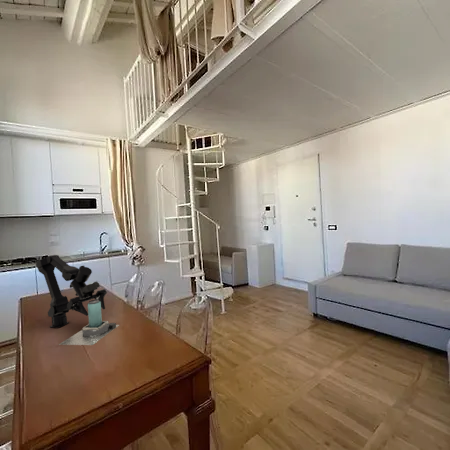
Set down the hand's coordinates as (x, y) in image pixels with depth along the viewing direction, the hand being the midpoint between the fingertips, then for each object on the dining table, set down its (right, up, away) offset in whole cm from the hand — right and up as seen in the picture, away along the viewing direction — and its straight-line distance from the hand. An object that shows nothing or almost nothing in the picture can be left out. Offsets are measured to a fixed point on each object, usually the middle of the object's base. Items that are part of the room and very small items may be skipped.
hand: (96, 311), depth 129 cm
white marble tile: (-2, -11, -2) cm, 11 cm away
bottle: (-1, -8, +1) cm, 8 cm away
